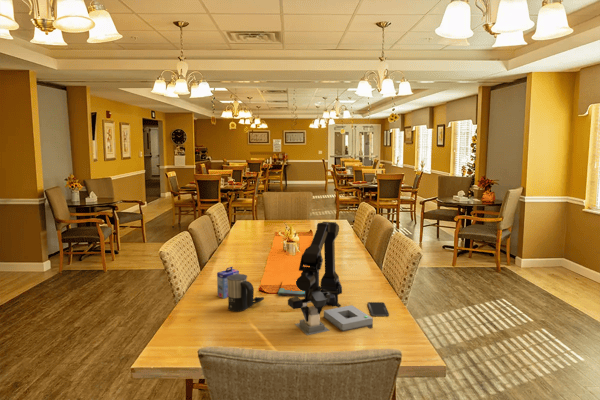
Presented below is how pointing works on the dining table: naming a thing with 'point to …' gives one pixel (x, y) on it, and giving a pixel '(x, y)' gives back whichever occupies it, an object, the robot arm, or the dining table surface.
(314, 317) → the plug
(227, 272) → the ink cartridge box
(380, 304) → the phone
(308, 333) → the holster
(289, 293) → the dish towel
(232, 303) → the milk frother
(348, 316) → the port
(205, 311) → the dining table surface
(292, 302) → the robot arm
